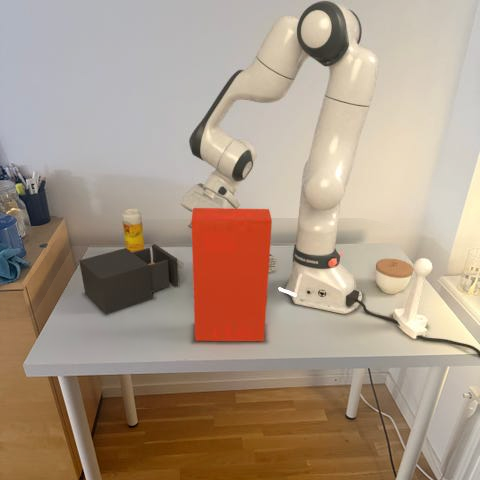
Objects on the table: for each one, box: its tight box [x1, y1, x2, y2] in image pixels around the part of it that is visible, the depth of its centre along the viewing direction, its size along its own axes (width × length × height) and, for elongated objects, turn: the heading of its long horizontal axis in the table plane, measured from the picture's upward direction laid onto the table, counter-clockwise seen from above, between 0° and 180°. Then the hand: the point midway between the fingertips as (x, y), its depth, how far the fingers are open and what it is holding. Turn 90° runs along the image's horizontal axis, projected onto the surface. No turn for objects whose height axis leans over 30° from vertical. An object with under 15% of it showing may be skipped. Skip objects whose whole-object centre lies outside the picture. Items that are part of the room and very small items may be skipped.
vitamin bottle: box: [121, 208, 145, 252], centre depth 153 cm, size 6×6×15 cm
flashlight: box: [268, 253, 278, 273], centre depth 153 cm, size 15×5×5 cm, turn 25°
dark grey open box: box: [78, 247, 153, 315], centre depth 131 cm, size 14×14×11 cm
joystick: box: [392, 257, 433, 339], centre depth 119 cm, size 11×8×20 cm
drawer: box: [132, 243, 186, 293], centre depth 137 cm, size 17×13×9 cm
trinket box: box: [374, 258, 414, 295], centre depth 139 cm, size 11×11×9 cm
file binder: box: [191, 208, 273, 342], centre depth 111 cm, size 8×17×32 cm, turn 92°
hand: (191, 228), depth 139 cm, fingers closed
